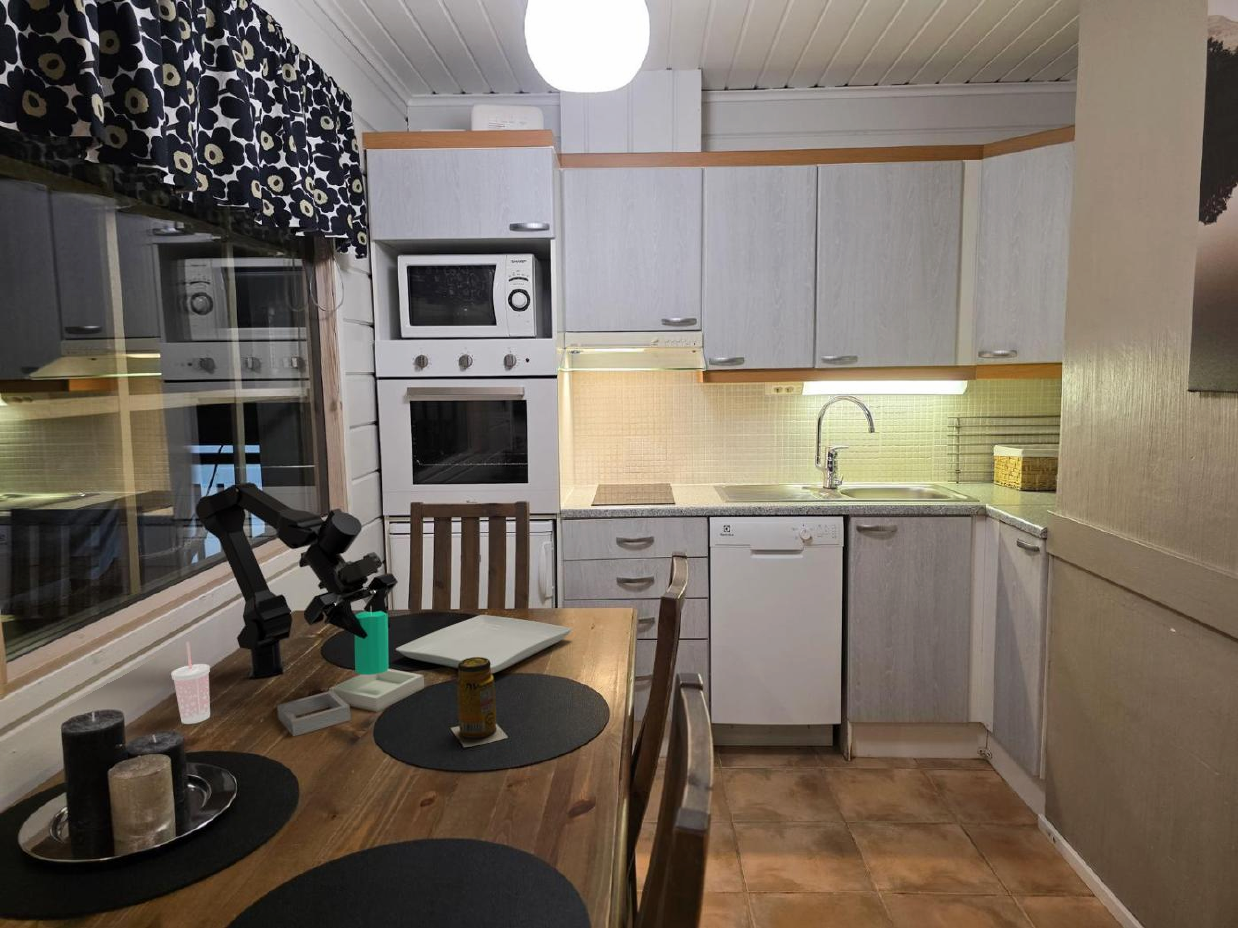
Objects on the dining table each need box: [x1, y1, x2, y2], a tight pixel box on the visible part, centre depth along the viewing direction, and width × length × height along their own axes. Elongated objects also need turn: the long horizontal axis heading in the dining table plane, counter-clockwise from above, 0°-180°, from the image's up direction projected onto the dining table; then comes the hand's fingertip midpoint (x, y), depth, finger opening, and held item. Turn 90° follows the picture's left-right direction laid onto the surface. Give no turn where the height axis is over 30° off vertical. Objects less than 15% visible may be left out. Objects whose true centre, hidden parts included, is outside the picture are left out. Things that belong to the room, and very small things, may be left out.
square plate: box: [395, 614, 573, 675], centre depth 173 cm, size 27×27×4 cm
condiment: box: [450, 657, 509, 748], centre depth 132 cm, size 7×8×12 cm
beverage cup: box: [170, 641, 211, 725], centre depth 143 cm, size 6×6×14 cm
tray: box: [328, 668, 425, 713], centre depth 151 cm, size 12×12×2 cm
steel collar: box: [276, 690, 352, 737], centre depth 141 cm, size 10×10×2 cm
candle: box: [354, 610, 390, 675], centre depth 150 cm, size 6×6×12 cm
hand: (377, 632), depth 149 cm, fingers closed on candle, 5 cm apart
